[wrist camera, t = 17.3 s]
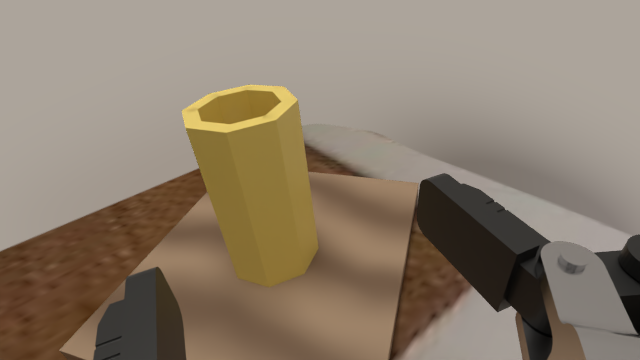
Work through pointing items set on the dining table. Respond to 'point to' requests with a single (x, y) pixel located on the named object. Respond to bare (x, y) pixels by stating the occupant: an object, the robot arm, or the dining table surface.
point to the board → (288, 281)
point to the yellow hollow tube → (256, 179)
